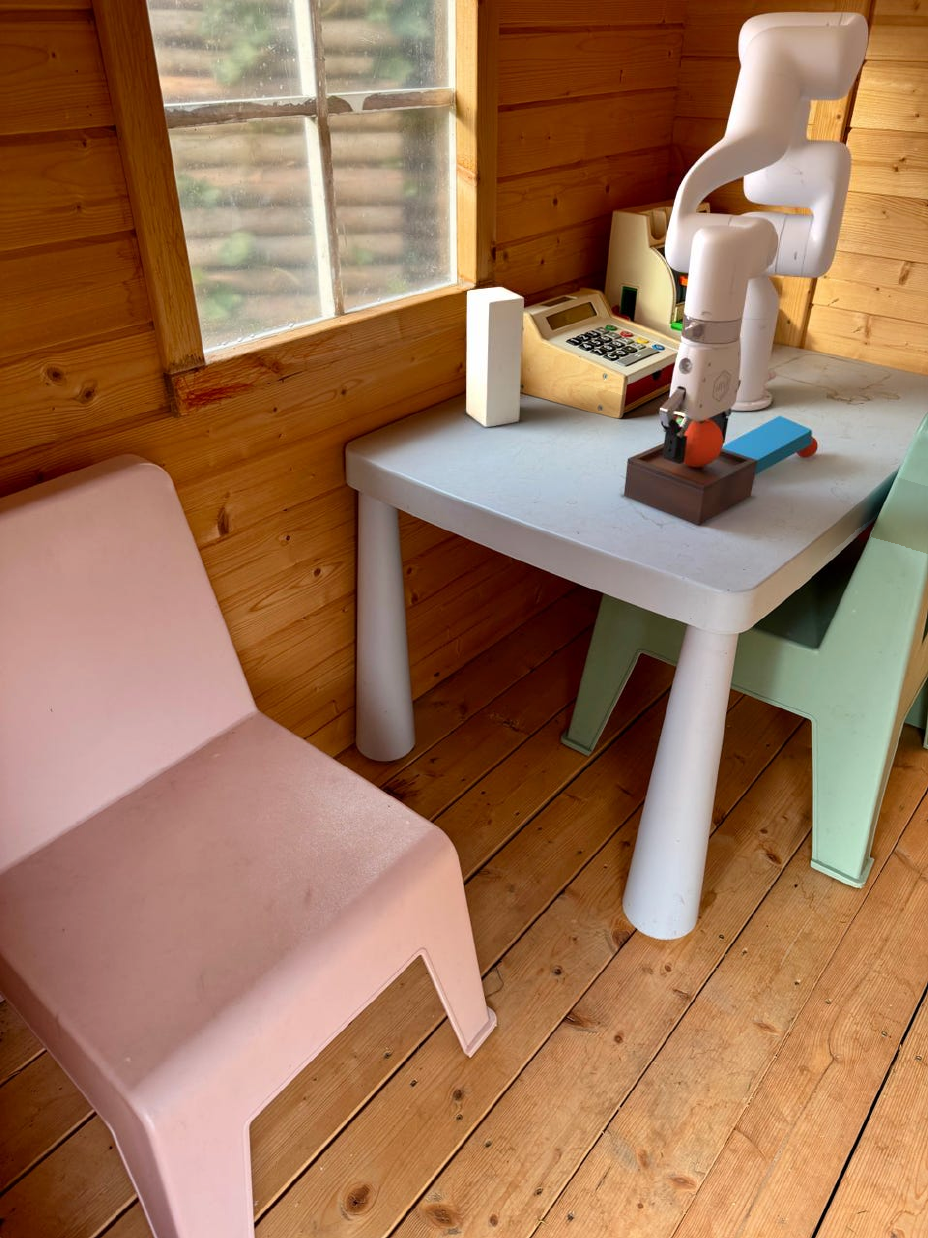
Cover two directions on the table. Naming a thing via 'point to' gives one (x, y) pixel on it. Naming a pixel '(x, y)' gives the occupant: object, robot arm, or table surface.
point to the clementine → (702, 443)
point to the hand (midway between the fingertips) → (693, 451)
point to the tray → (690, 484)
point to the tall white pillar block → (494, 355)
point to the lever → (774, 443)
